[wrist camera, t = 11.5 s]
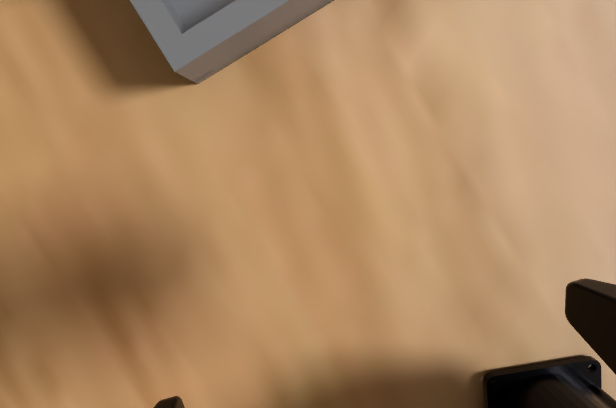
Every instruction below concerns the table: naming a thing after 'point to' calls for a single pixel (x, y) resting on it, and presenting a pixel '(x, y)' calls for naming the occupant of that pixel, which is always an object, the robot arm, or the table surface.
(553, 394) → the robot arm
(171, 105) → the table surface
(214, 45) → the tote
